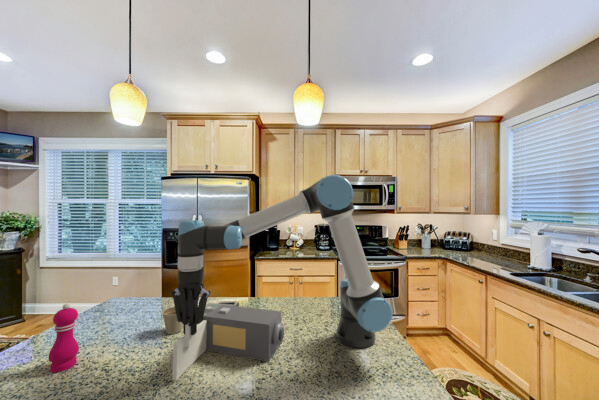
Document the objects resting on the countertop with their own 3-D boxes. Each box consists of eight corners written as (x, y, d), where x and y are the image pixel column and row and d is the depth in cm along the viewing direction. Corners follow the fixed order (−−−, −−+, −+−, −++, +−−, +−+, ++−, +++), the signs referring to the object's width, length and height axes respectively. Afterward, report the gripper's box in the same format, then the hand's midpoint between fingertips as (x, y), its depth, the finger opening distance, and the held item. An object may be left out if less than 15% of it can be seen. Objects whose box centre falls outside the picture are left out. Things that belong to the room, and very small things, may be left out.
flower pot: (164, 339, 99) (164, 316, 99) (159, 330, 106) (159, 309, 107) (189, 331, 105) (189, 310, 105) (182, 324, 112) (183, 304, 113)
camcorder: (237, 320, 116) (237, 309, 117) (190, 324, 112) (190, 312, 113) (238, 308, 132) (239, 298, 133) (197, 310, 128) (198, 300, 129)
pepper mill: (75, 357, 86) (78, 298, 87) (80, 365, 82) (83, 303, 83) (46, 367, 81) (49, 304, 82) (49, 377, 76) (52, 309, 77)
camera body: (287, 344, 95) (287, 309, 96) (275, 362, 83) (276, 323, 84) (221, 334, 103) (222, 302, 103) (202, 349, 91) (203, 313, 92)
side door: (176, 380, 73) (177, 345, 74) (170, 379, 73) (170, 344, 74) (206, 348, 90) (206, 320, 90) (201, 348, 90) (201, 320, 91)
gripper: (215, 267, 82) (214, 340, 81) (180, 265, 85) (179, 336, 84) (202, 272, 75) (201, 353, 74) (164, 270, 78) (163, 348, 76)
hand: (189, 344), depth 79 cm, fingers closed
